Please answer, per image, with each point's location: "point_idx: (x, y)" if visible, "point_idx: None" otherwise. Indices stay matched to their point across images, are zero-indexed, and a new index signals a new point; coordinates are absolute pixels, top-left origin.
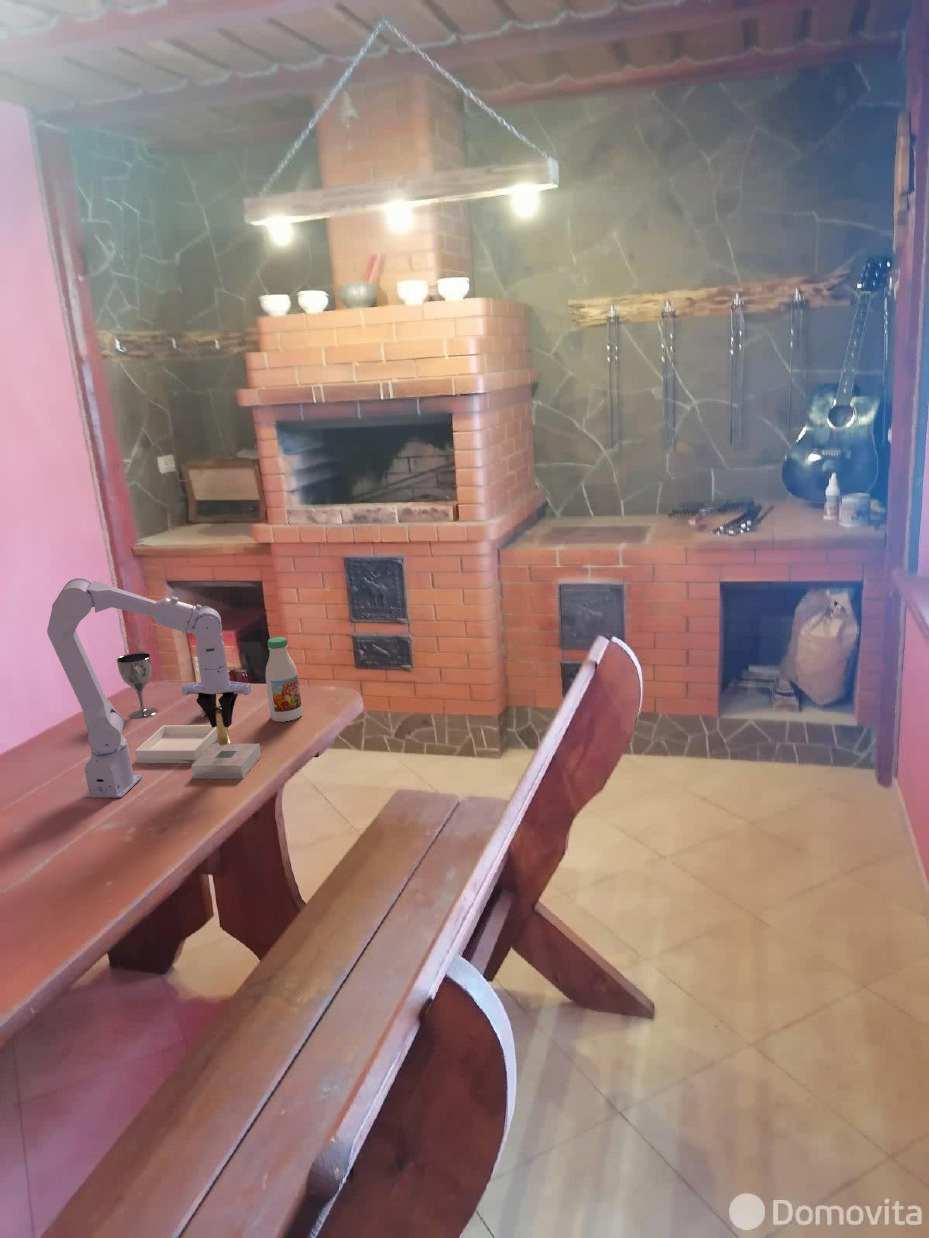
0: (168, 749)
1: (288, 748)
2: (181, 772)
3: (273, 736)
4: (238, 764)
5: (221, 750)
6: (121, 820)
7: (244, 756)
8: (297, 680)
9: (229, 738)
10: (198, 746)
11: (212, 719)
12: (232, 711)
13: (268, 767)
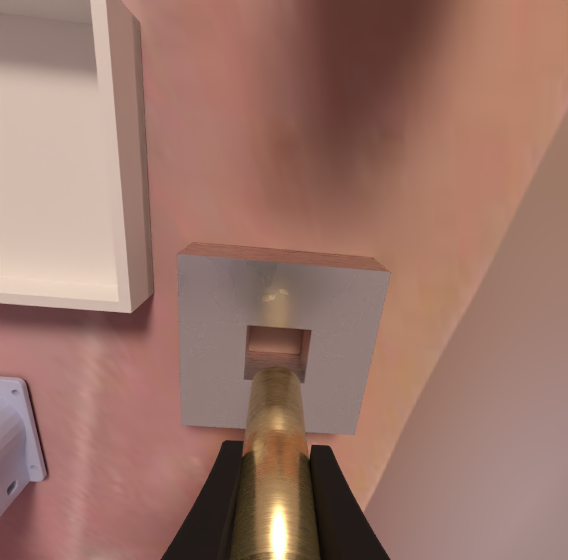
0: (5, 294)
1: (468, 197)
2: (135, 352)
3: (397, 50)
4: (343, 427)
5: (245, 322)
6: (118, 547)
7: (350, 374)
8: None
9: (301, 394)
10: (127, 276)
11: (229, 553)
12: (367, 529)
13: (408, 340)
